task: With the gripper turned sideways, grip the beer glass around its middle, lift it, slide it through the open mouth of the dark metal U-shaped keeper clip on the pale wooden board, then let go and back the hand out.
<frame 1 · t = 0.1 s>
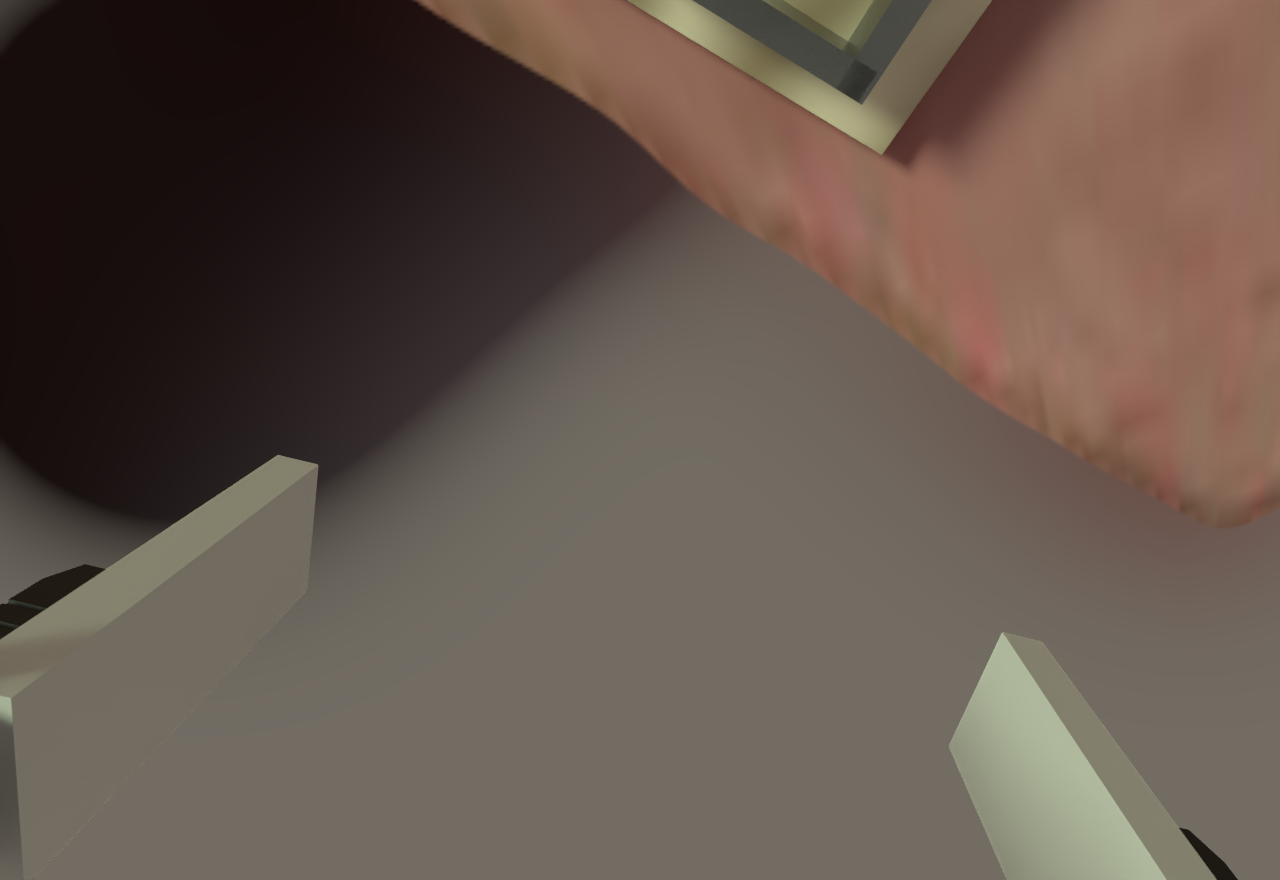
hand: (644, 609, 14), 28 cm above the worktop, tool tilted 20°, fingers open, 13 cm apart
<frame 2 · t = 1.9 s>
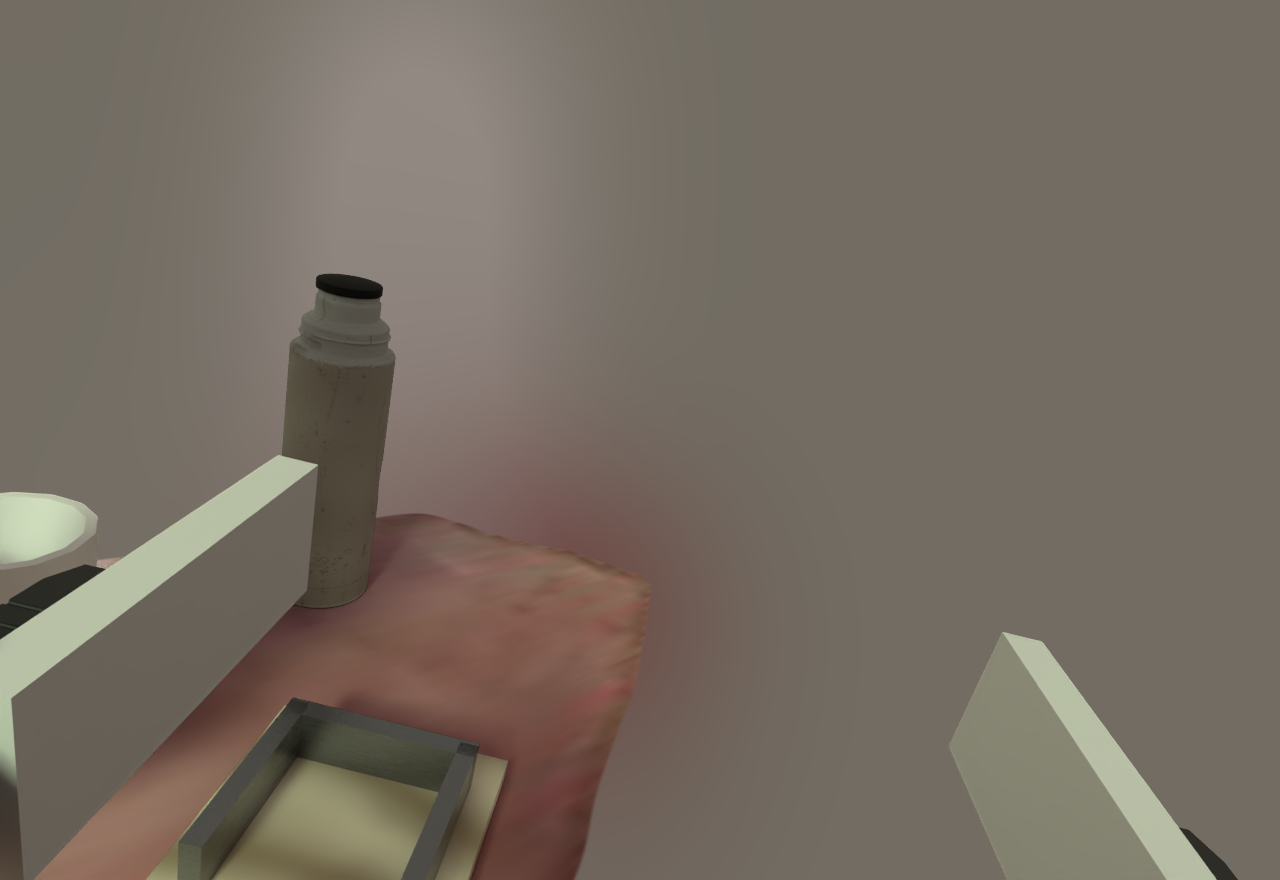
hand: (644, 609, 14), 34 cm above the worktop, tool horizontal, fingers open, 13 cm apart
thermos bottle: (320, 584, 69), on the worktop
keeper clip: (344, 809, 44), on the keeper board, point 3 cm above the worktop
foam cup: (13, 704, 49), on the worktop
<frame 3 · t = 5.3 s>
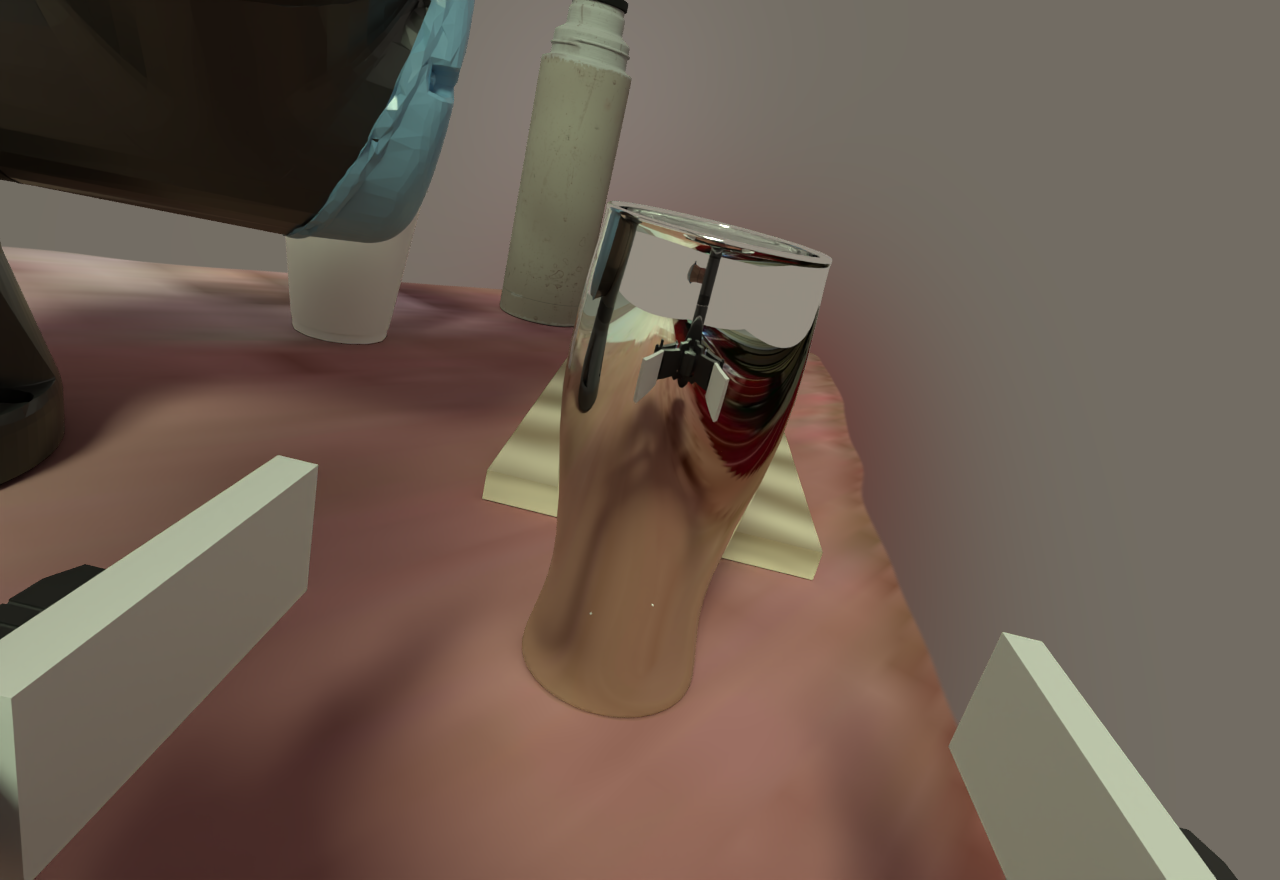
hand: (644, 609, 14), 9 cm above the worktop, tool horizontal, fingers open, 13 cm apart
thermos bottle: (540, 316, 73), on the worktop
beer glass: (605, 662, 27), on the worktop
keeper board: (660, 450, 47), on the worktop
foam cup: (339, 332, 54), on the worktop
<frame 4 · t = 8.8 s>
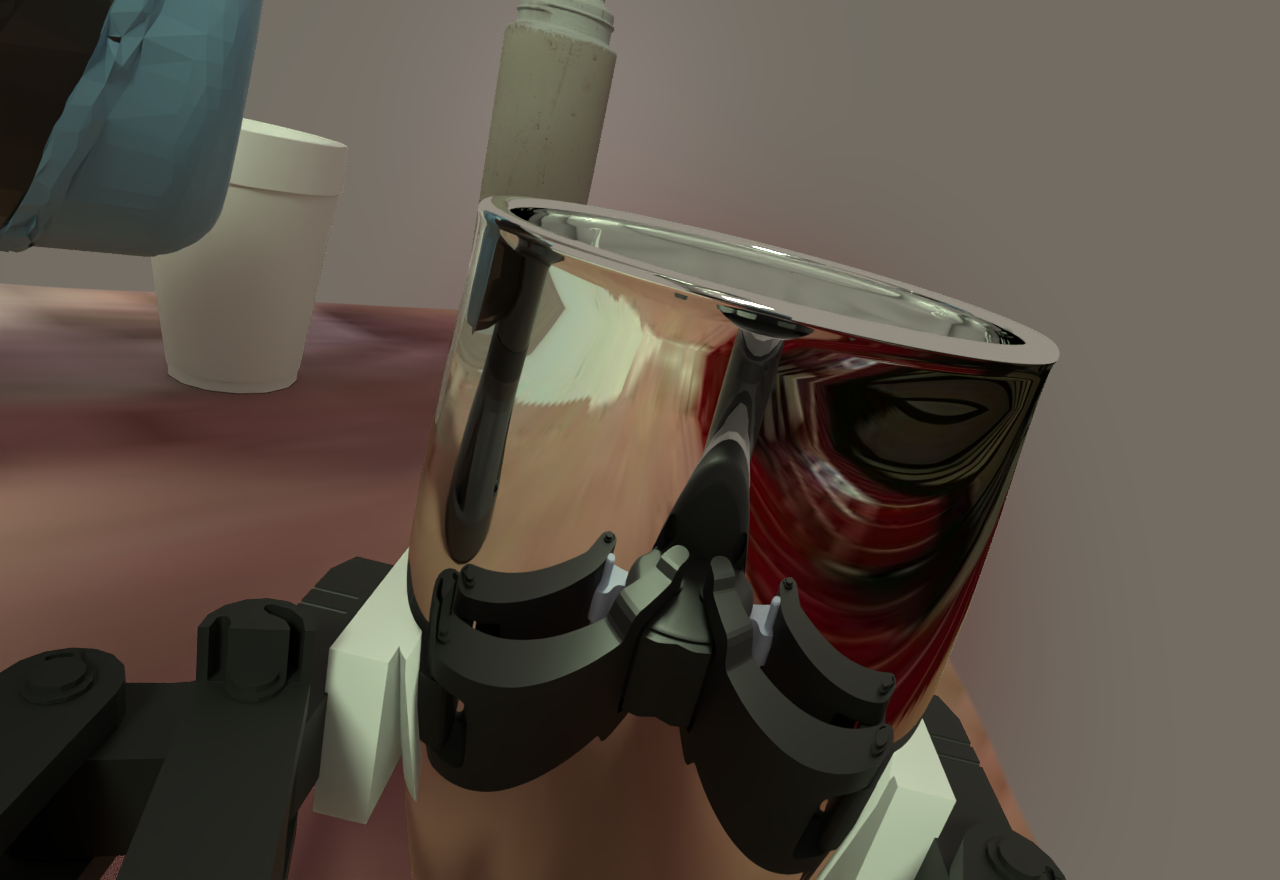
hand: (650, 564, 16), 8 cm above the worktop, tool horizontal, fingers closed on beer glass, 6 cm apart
thermos bottle: (508, 344, 61), on the worktop
foam cup: (233, 376, 42), on the worktop
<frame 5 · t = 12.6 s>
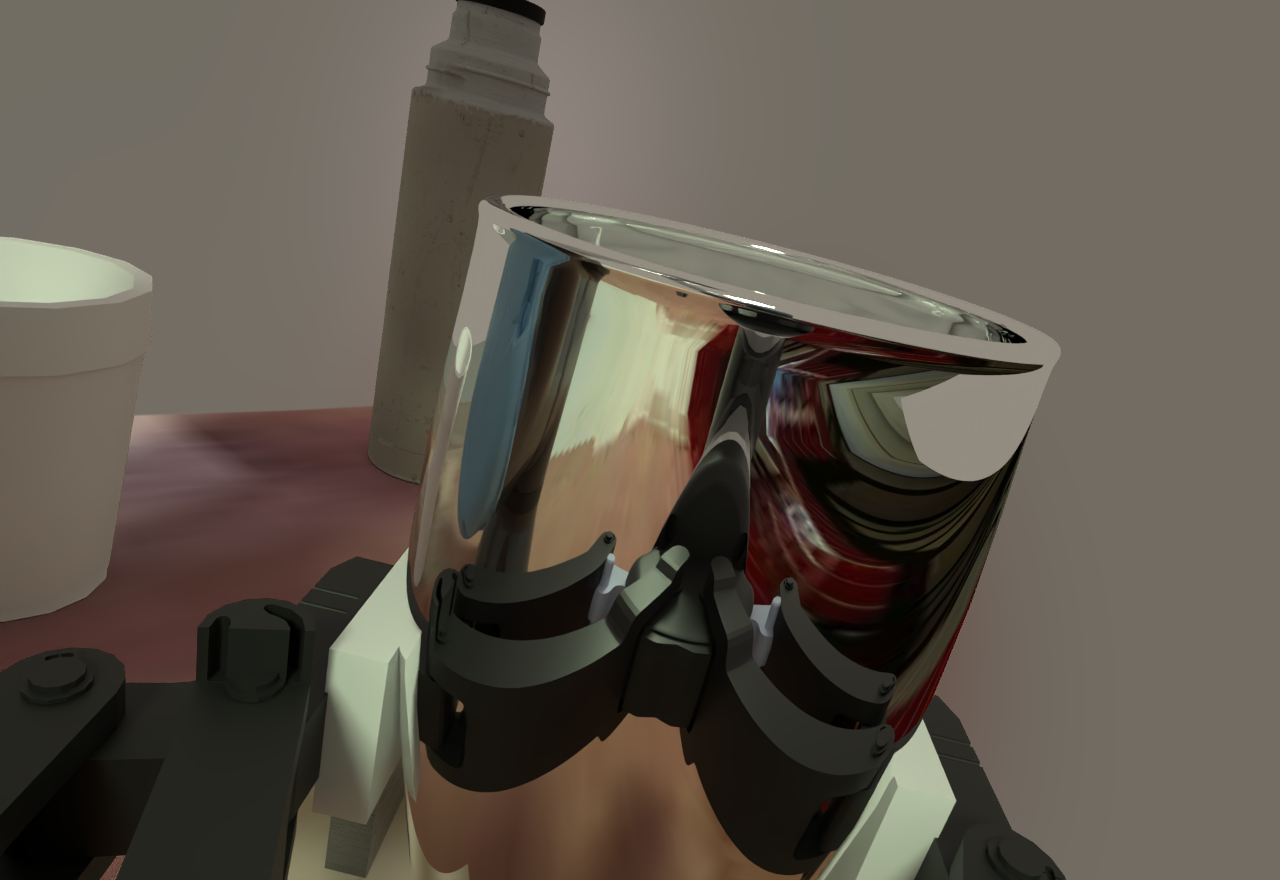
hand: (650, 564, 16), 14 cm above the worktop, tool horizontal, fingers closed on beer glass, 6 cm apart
thermos bottle: (429, 461, 51), on the worktop
keeper clip: (578, 734, 26), on the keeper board, point 3 cm above the worktop
foam cup: (16, 579, 31), on the worktop
when the fingers open (10 cm above the worktop, at t = 16.6 s): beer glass moves 2 cm, resting on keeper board.
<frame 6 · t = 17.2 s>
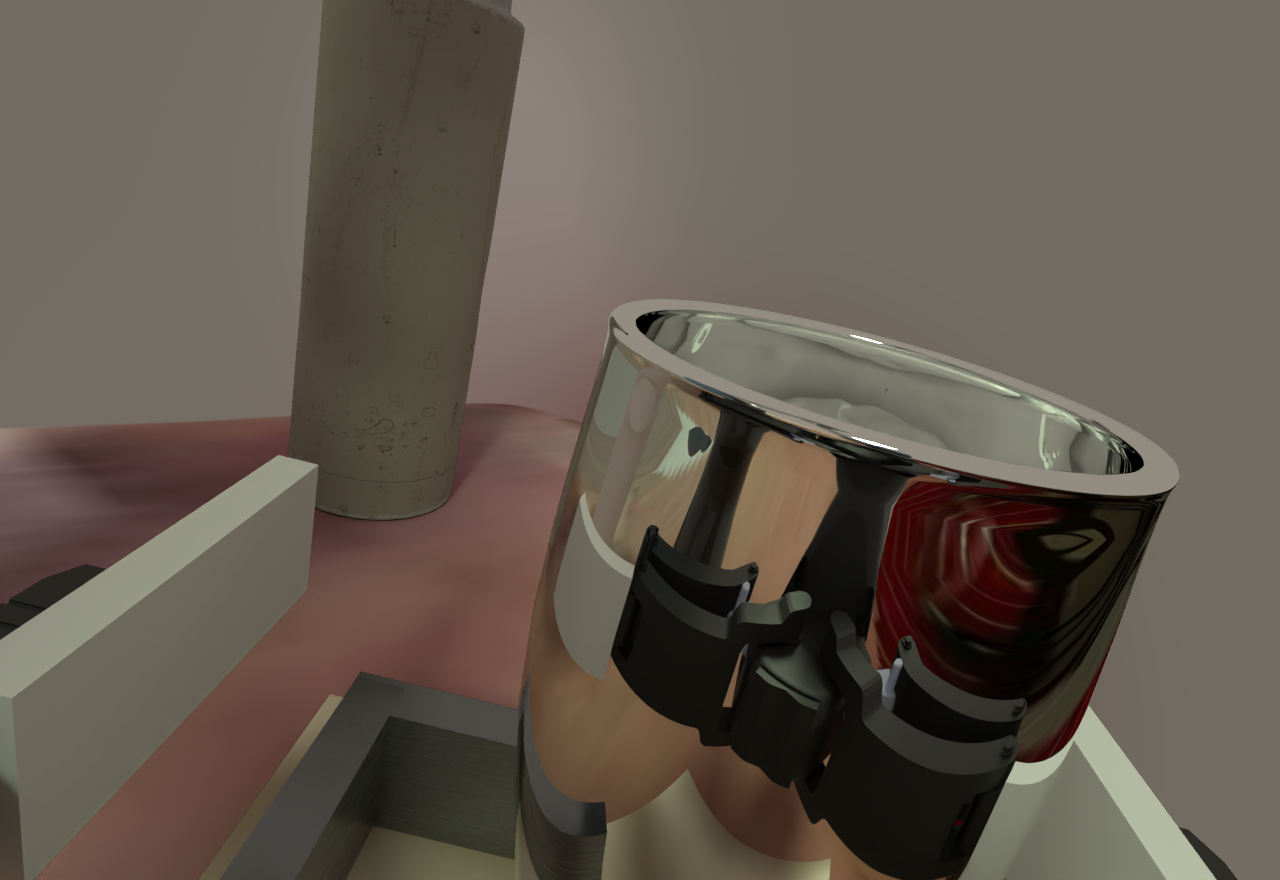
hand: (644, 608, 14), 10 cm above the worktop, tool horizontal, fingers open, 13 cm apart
thermos bottle: (371, 486, 39), on the worktop
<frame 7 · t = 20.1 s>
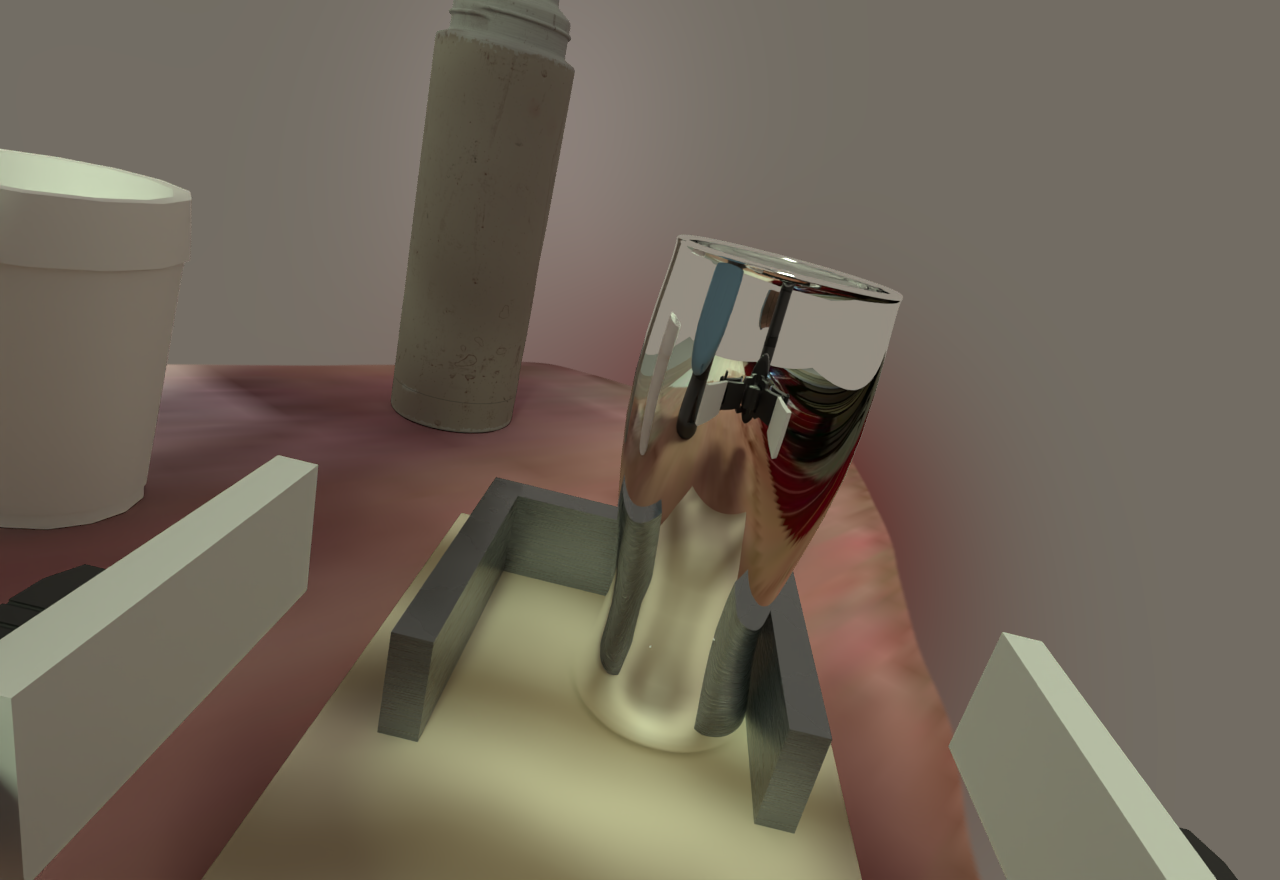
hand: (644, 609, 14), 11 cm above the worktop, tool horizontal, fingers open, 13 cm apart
thermos bottle: (451, 412, 51), on the worktop
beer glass: (657, 694, 26), point 1 cm above the worktop, touching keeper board
keeper clip: (619, 624, 26), on the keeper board, point 3 cm above the worktop
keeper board: (585, 771, 24), on the worktop
foam cup: (56, 495, 32), on the worktop
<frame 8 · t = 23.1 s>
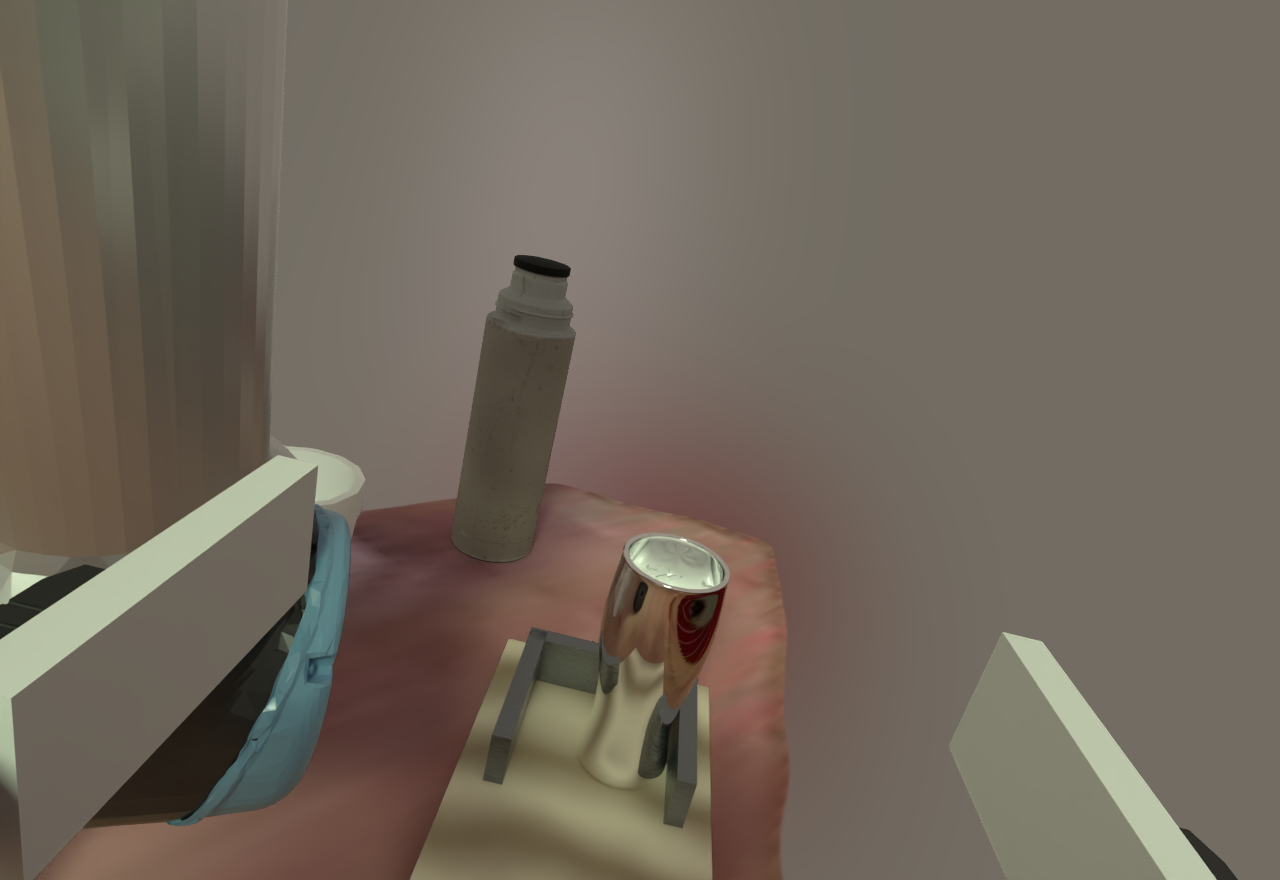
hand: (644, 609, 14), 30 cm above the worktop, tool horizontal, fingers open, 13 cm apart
thermos bottle: (491, 542, 75), on the worktop
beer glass: (620, 756, 50), point 1 cm above the worktop, touching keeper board
keeper clip: (600, 718, 50), on the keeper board, point 3 cm above the worktop
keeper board: (582, 797, 48), on the worktop
foam cup: (278, 636, 55), on the worktop
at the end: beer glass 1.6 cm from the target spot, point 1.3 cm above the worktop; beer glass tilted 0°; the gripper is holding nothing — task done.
